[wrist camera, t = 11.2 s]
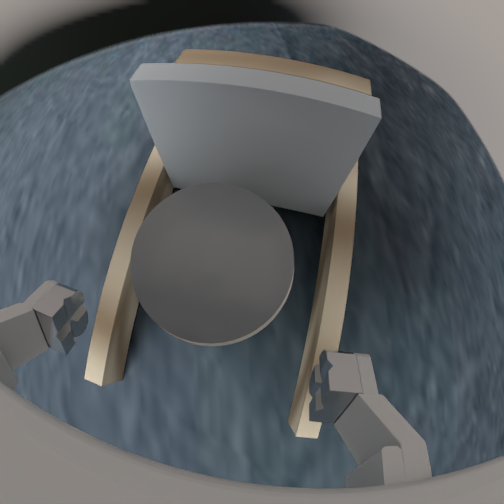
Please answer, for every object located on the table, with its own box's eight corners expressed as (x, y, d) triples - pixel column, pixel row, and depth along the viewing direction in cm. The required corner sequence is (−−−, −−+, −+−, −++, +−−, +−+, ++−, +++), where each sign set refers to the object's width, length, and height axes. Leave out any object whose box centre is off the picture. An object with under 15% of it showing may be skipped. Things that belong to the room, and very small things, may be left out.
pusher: (322, 216, 15) (381, 118, 8) (173, 187, 16) (129, 80, 8) (324, 200, 16) (379, 98, 8) (179, 172, 16) (141, 63, 8)
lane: (306, 423, 13) (333, 458, 8) (106, 373, 13) (55, 384, 9) (347, 130, 18) (369, 79, 13) (194, 102, 18) (184, 49, 14)
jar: (168, 328, 14) (108, 320, 8) (191, 238, 16) (156, 170, 9) (263, 350, 14) (279, 363, 7) (281, 257, 15) (308, 197, 9)
